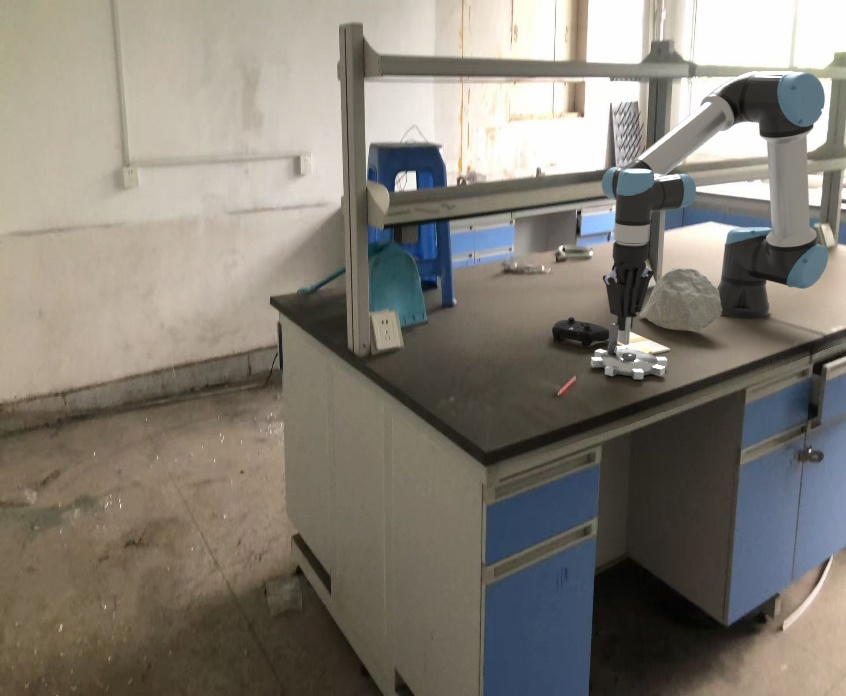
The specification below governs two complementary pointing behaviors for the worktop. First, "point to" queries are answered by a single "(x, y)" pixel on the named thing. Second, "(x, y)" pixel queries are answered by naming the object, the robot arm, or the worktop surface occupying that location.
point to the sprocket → (627, 359)
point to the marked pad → (643, 344)
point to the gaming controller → (579, 331)
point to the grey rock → (683, 301)
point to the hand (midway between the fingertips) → (623, 342)
